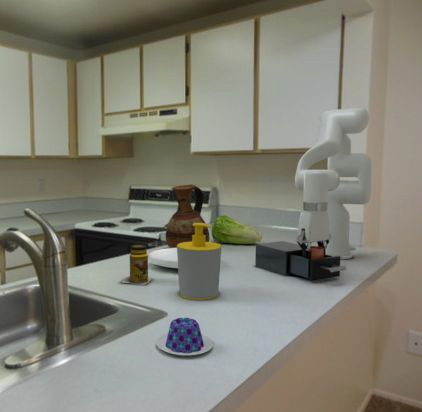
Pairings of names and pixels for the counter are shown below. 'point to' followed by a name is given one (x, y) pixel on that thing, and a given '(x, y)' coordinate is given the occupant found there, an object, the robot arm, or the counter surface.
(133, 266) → the condiment
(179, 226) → the ceramic pitcher
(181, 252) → the soap bottle
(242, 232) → the lettuce
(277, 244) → the dark gray drawer box
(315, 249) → the cup
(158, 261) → the plate
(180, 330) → the pudding
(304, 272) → the drawer
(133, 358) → the counter surface
